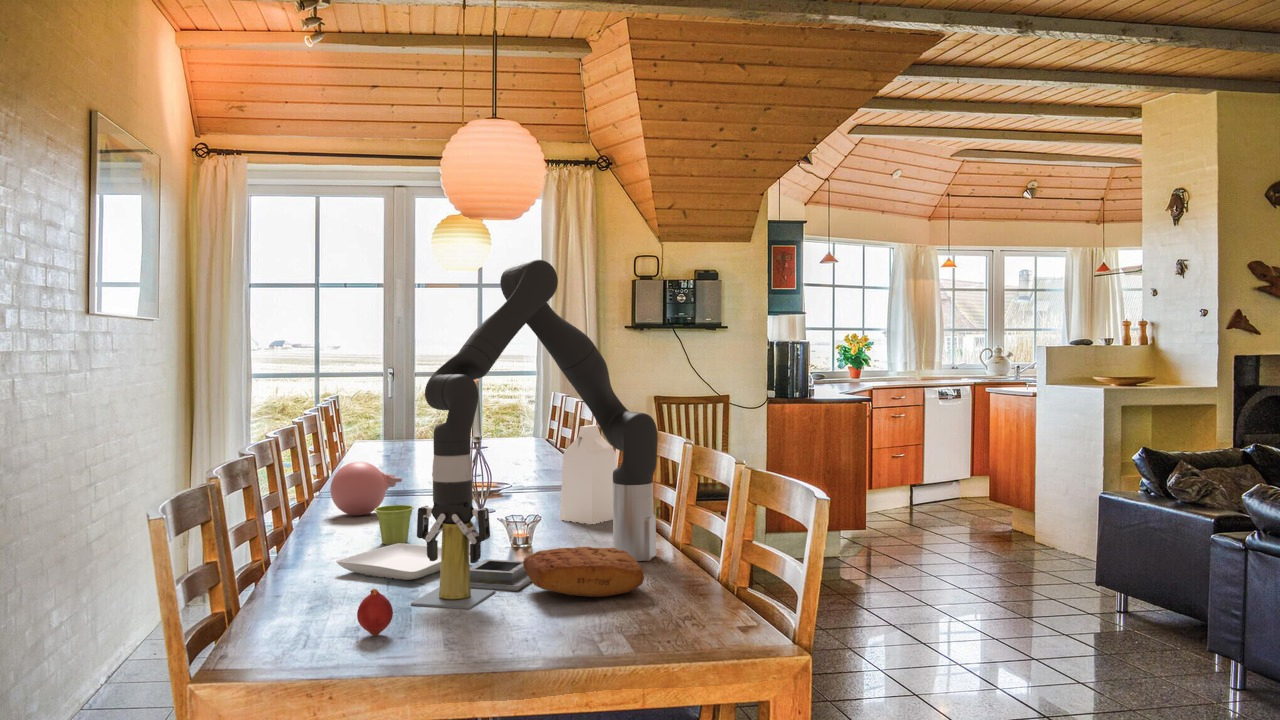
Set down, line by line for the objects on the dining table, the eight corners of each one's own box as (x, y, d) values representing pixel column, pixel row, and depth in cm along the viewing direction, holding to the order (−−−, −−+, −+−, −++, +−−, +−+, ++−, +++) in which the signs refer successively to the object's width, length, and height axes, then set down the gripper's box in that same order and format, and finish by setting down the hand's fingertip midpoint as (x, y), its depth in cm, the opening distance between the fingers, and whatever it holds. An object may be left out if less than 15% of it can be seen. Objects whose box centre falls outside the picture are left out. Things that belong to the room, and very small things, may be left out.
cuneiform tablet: (534, 609, 175) (534, 566, 175) (521, 586, 192) (520, 547, 191) (649, 599, 181) (649, 557, 181) (626, 578, 198) (626, 539, 197)
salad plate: (474, 564, 212) (474, 549, 212) (414, 587, 193) (413, 570, 193) (398, 556, 221) (398, 541, 221) (333, 576, 202) (333, 560, 202)
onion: (361, 630, 163) (360, 584, 163) (395, 629, 163) (395, 583, 163) (354, 641, 157) (353, 593, 157) (389, 640, 157) (389, 592, 157)
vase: (463, 601, 179) (464, 525, 179) (433, 598, 180) (434, 523, 180) (475, 593, 185) (476, 520, 185) (446, 591, 186) (447, 518, 186)
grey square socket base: (542, 573, 201) (542, 560, 201) (518, 590, 188) (517, 575, 188) (481, 570, 205) (481, 556, 205) (453, 586, 191) (453, 572, 191)
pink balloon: (405, 516, 269) (404, 462, 269) (331, 521, 262) (331, 466, 262) (400, 507, 284) (399, 456, 283) (329, 512, 277) (329, 460, 277)
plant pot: (367, 545, 232) (366, 509, 232) (390, 537, 240) (390, 503, 240) (398, 548, 228) (398, 512, 228) (421, 540, 237) (421, 505, 237)
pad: (495, 592, 187) (495, 590, 187) (469, 609, 175) (469, 607, 175) (439, 588, 190) (439, 586, 190) (410, 605, 178) (410, 603, 178)
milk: (587, 513, 272) (586, 423, 271) (619, 517, 265) (618, 425, 265) (559, 520, 262) (558, 426, 262) (592, 524, 255) (591, 428, 255)
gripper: (494, 475, 184) (495, 558, 184) (427, 473, 187) (429, 555, 188) (478, 481, 177) (479, 567, 177) (409, 479, 180) (410, 564, 181)
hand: (453, 561), depth 182 cm, fingers open, 8 cm apart
